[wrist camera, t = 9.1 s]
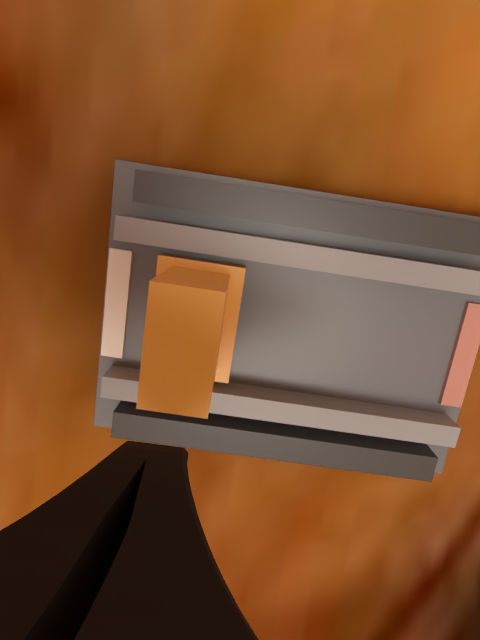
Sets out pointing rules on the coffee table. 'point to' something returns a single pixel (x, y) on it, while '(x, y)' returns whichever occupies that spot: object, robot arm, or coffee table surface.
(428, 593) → the coffee table surface
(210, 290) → the breaker lever
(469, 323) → the breaker panel
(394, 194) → the coffee table surface
